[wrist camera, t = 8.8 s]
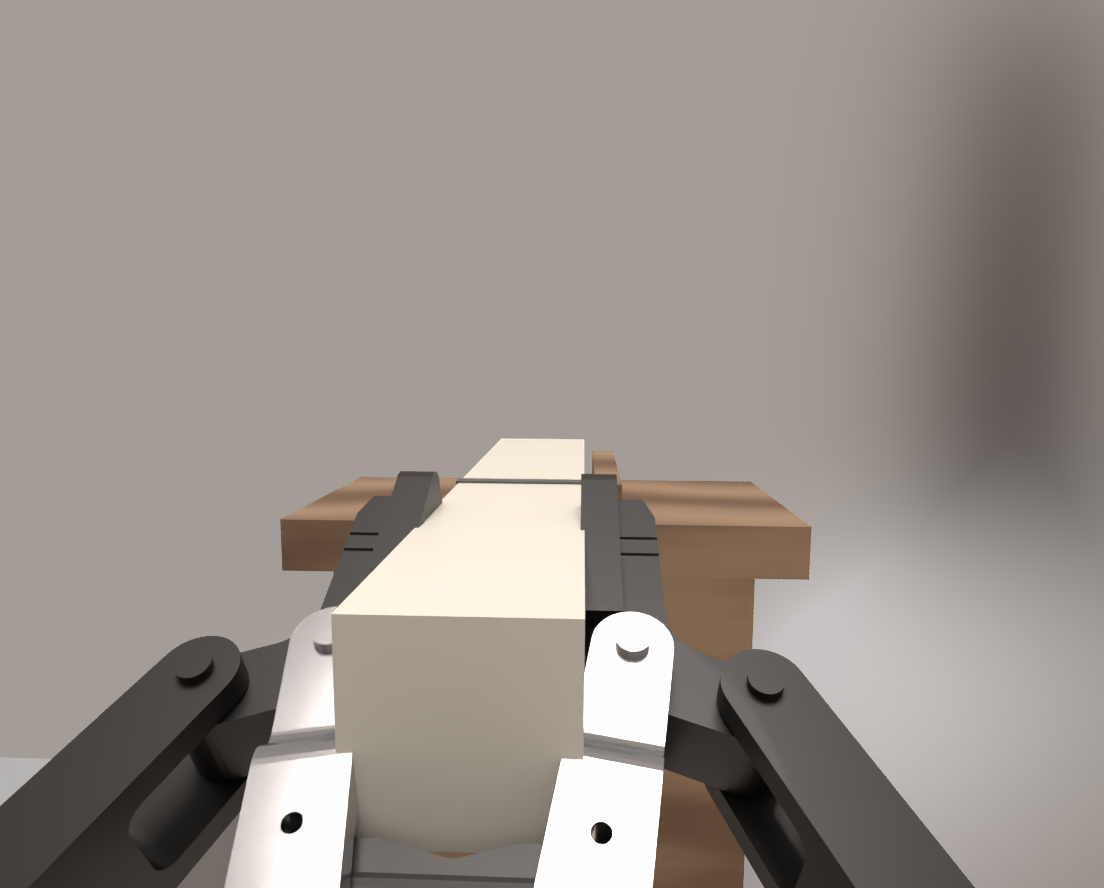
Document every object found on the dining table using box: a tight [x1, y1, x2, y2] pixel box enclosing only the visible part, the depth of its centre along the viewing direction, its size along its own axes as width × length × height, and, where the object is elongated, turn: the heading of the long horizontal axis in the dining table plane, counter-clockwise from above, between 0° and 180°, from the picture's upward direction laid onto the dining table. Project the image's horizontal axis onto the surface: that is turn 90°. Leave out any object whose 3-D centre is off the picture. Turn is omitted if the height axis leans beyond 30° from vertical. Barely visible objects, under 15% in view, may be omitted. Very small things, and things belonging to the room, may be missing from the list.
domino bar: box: [331, 439, 585, 853], centre depth 18 cm, size 18×3×3 cm, turn 178°
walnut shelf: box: [281, 451, 811, 888], centre depth 34 cm, size 10×20×34 cm, turn 87°
